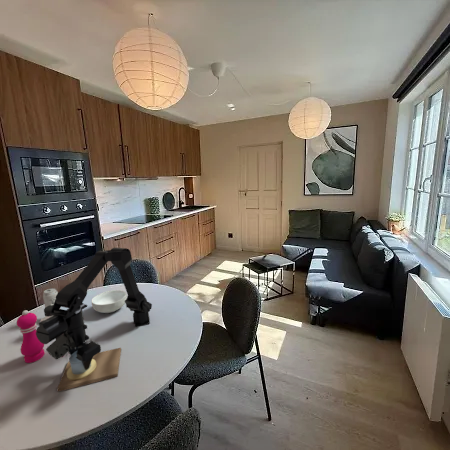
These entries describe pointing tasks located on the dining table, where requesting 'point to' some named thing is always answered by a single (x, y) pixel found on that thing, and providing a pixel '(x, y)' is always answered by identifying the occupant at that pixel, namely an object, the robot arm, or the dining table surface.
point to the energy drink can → (49, 296)
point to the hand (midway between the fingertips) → (81, 365)
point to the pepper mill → (30, 337)
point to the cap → (76, 364)
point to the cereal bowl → (109, 301)
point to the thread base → (93, 370)
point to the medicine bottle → (47, 312)
